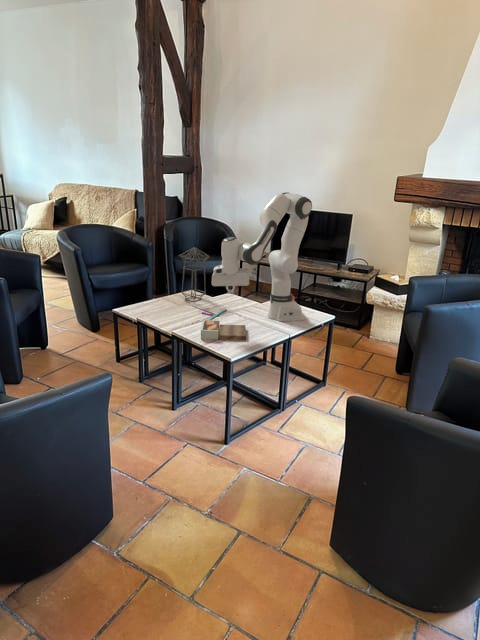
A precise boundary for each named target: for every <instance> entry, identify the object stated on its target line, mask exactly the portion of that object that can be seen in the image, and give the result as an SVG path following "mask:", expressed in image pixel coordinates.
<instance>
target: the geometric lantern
mask: <svg viewBox="0 0 480 640" xmlns="http://www.w3.org/2000/svg"><path fill="white" fill-rule="evenodd" d="M186 253H187V254H186ZM192 256H193V257H192ZM178 257H180V259H182V261H183V267H182V283H181V294H182V295H183V296H184V297H185V298H184V300H185V301H188V302H193V303H195V302H198V301H200V300H202V297H203V296H205V295H207V291H206V287H204V291H203V290H200V289H197V271H201V270H203V277H204V278H203V280H204V285H206V265H205V262H206V261H207V260H208V259H210V257H211V256H210V255H209V254H207V253H205V251H202V250H201V249H199V248H197V247H195V246H194V247H192V248H190V249H188V250H186V251H185V252H183V253H181V254H179V255H178ZM195 257H197V258H195ZM187 260H189V261H187ZM193 261H197V262H196V264H194V262H193ZM201 261H202V262H201ZM190 262H191V263H192V265H190ZM186 263H187V264H188V265H186ZM201 264H202V266H200V265H201ZM187 267H189V268H190V269H189V268H187ZM198 267H200V268H199V269H197V268H198ZM185 270H190V271H191V284H190V285H191V288H190V289H187V290H184V280H185V272H186V271H185ZM193 283H194V284H193ZM193 285H194V288H193ZM189 291H190V294H188V293H185V292H189ZM197 292H200V293H202V294H197ZM190 299H191V300H190Z"/></svg>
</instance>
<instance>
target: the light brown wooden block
mask: <svg viewBox="0 0 480 640" xmlns="http://www.w3.org/2000/svg"><path fill="white" fill-rule="evenodd" d="M212 325H214V321H207V329H208V327H210V326H212Z"/></svg>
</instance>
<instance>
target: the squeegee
mask: <svg viewBox="0 0 480 640" xmlns="http://www.w3.org/2000/svg"><path fill="white" fill-rule="evenodd" d="M226 311H228V309H227V308H225V309H223V310H221V311H220V312H218V313H217V314H214V315H213V313H208V312H207V313H206V312H201V315H205V316H209V317H210V316H211V317H210V318H209V319H208V320H214V318H216V317H218V316H219V315H221V314H222V313H224V312H226Z"/></svg>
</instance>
